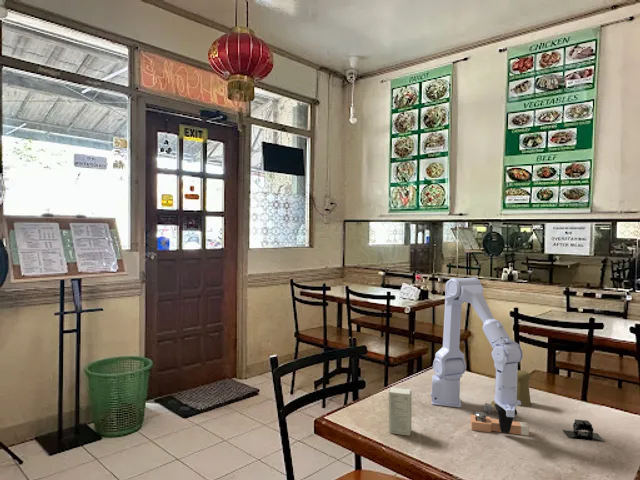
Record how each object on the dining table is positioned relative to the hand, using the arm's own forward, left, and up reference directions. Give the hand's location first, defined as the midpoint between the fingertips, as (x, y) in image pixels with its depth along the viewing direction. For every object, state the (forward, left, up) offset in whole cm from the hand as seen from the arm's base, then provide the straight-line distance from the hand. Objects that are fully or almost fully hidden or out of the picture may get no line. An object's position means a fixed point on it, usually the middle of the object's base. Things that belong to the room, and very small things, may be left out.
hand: (504, 431), depth 128 cm
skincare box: (-29, -7, -1) cm, 30 cm away
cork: (+9, +27, -1) cm, 29 cm away
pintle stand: (-2, +10, -1) cm, 10 cm away
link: (-1, +3, -1) cm, 4 cm away
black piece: (+22, +6, -2) cm, 23 cm away
